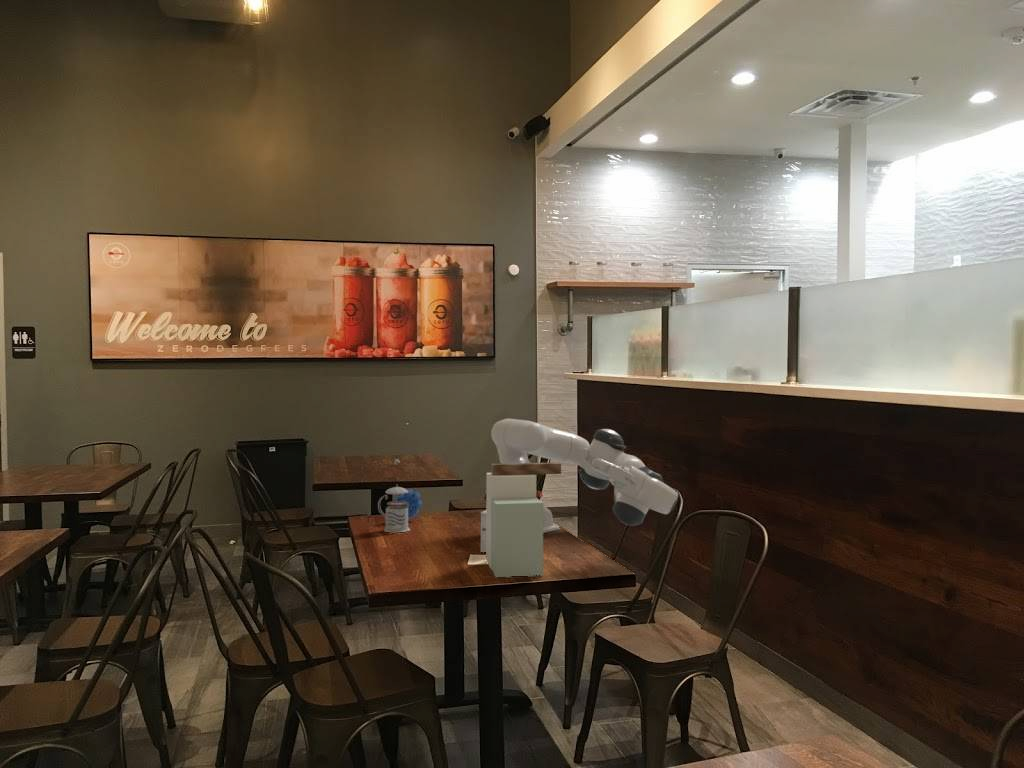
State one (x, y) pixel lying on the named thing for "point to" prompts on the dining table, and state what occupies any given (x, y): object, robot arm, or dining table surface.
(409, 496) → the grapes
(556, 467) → the walnut bar
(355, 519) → the dining table surface
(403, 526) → the french press
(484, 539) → the supplement box
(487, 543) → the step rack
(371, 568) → the dining table surface
